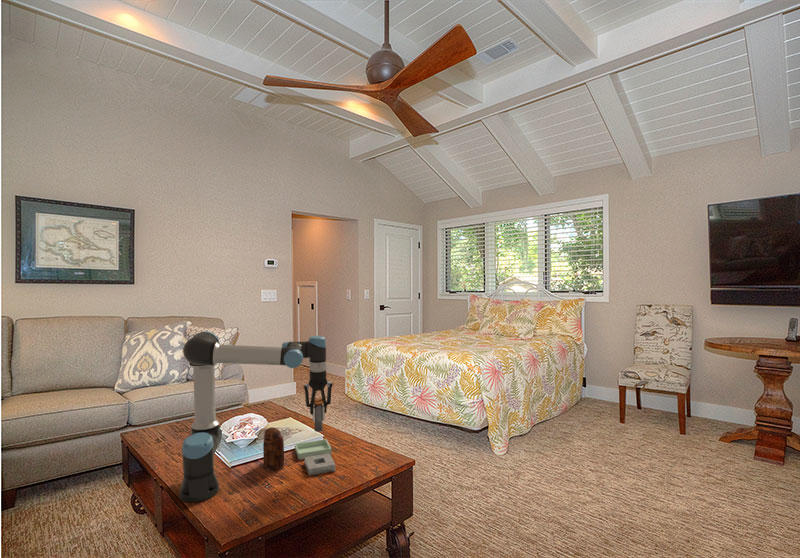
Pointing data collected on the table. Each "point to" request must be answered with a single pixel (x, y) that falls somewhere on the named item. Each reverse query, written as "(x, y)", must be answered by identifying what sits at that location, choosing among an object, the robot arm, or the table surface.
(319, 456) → the block
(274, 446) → the wooden figurine
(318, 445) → the tray
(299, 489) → the table surface
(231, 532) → the table surface
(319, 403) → the pin
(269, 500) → the table surface
